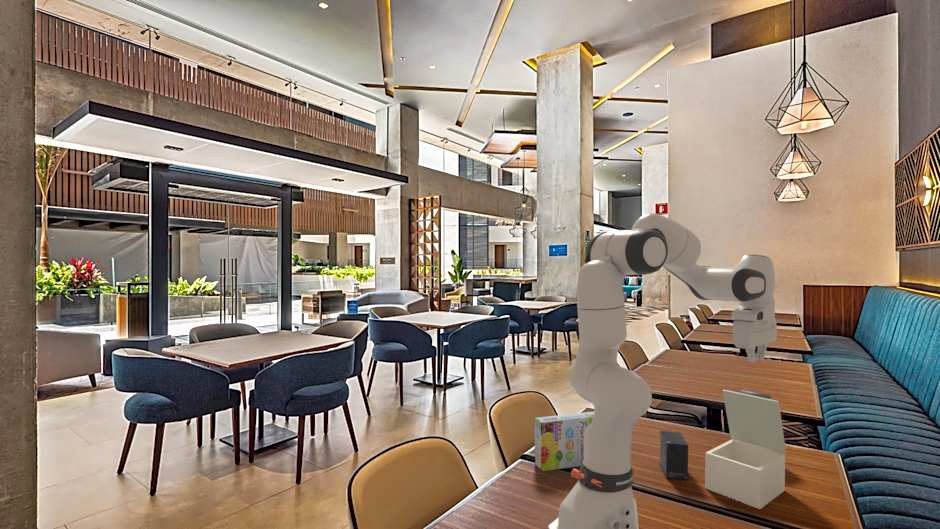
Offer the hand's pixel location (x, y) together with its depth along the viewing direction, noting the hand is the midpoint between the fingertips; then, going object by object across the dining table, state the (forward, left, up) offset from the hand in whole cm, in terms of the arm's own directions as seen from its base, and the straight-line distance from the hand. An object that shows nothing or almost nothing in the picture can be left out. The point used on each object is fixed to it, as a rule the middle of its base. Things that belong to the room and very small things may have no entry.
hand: (756, 360), depth 136 cm
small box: (-12, +18, -35) cm, 41 cm away
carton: (-7, 0, -35) cm, 36 cm away
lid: (-2, 0, -17) cm, 17 cm away
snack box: (-33, +41, -35) cm, 63 cm away
